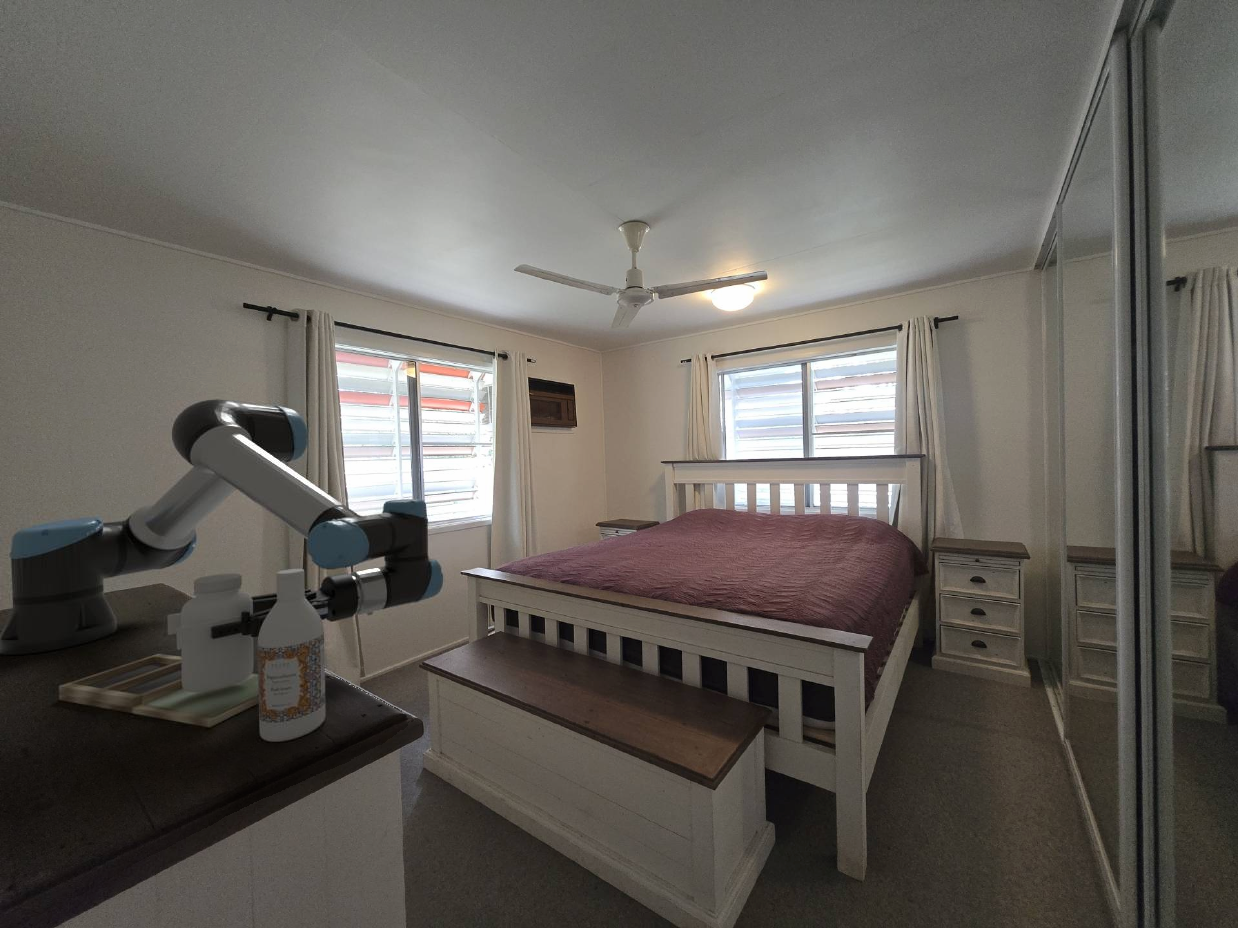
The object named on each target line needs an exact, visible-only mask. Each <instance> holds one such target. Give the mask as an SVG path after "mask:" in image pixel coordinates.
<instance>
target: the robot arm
mask: <svg viewBox="0 0 1238 928" xmlns="http://www.w3.org/2000/svg"><path fill="white" fill-rule="evenodd" d="M308 435H309V434H308V427H307V425H306V423H305V421H304V419H303V417H302V416H301V415H300V414H299V413H298V412H297V411H295V410H294V409H291V408H288V407H285V406H280V405H277V404H266V403H265V404H263V403H253V402H242V401H234V400H233V401H232V400H229V399H228V400H227V399H206V400H201V401H198V402H196V403H193V404H191V405H189V406H187V407H186V408H185V409H184V410H182V411H181V412H180V413H179V414H178V415H177V417H176V418H175V420H174V422H173V425H172V427H171V440H172V443H173V445H174V448H175V450H176V451H177V453H178V454H179V455H180V456H181V457H182V458H183V460H185V461H186V462H187V463H189V465H192V466H193V467H192V468H191V469H189V470H188V472H186V473H185V474H184V475H183V476H182V477H181V478H180V479H179V480H178V481H177V482H175V484H174V485H172V487H171V488H169V490H168V491H166V493H164V494H163V495H162V496H161V497H160V498H159V499H158V500H157V501H156V502H155V503H154V504H148V505H144V506H141V507H140V508H137V509H136V510H135V511H134V512H133V513H132V514H131V515H130V516H128V517H127V518H126V519H125V520H120V521H111V522H103V520H102V518H100V517H78V518H71V519H64V520H57V521H50V522H45V523H40V524H36V525H31V526H27V527H25V528H22V529H20V530H18V531H17V532H15V533H14V534H13V536H12V537H11V538H12V539H11V548H10V553H9V557H10V563H11V565H10V566H11V568H10V569H11V588H12V589H11V591H12V608H11V609H12V610H11V612H10V614H9V616H8V618H7V620H6V622H5V625H4V627H3V629H2V632H1V634H0V655H5V656H6V655H7V656H9V655H10V656H11V655H12V656H16V655H30V654H35V653H36V654H37V653H42V652H48V651H49V652H50V651H56V650H60V649H65V648H70V647H74V646H79V645H82V644H85V643H90V642H93V641H96V640H99V639H100V640H101V639H102V638H105V637H107V636H109V635H111V634H114V633H115V632H117V630H118V622H117V621H118V620H117V617H116V615H115V613H114V611H113V609H112V608H111V606H110V604H109V602H108V601H107V597H106V596H105V593H104V579H109V578H110V579H111V578H114V577H120V576H126V575H130V574H135V573H140V572H148V571H152V570H162V569H166V568H169V567H172V566H176V565H178V564H181V563H182V562H185V560H187V559H188V558H189V557H190V556H191V555H192V554H193V552H194V551H195V545H194V544H196V543H197V538H198V537H197V531H196V527H197V526H198V525H199V524H200V523H201V522H202V521H203V520H204V519H206V518H208V516H209V515H210V514H211V513H212V512H213V511H215V510H216V509H217V508H218V507H219V506H220V505H221V504H223V502H225V500H226V499H228V498H229V497H230V496H231V495H233V493H234V492H235V491H236V490H238V491H239V492H240V493H241V494H242V495H244V496H245V497H248V499H250V500H252V501H253V502H254V503H255V504H256V505H259V506H260V507H261V508H262V509H264V510H265V511H266V512H268V513H269V514H271V515H273V517H275V518H276V519H277V520H279V521H280V522H282V523H283V524H285V525H286V526H288V527H289V528H290V529H292V530H293V531H294V532H296V533H297V534H299V535H300V536H302V537H303V538H304V539H306V551H307V554H308V555H310V557H311V561H312V562H313V564H315V565H316V567H319V568H320V569H324V570H336V569H337V570H338V569H342V568H346V569H347V568H350V567H353V566H356V565H359V564H362V563H366V562H369V561H373V560H375V559H380V558H383V557H384V566H380V567H372V568H368V569H361V570H357V571H356V570H355V571H352V572H351V573H350V574H349V573H341V574H334V575H328V576H326V577H324V578H323V580H322V582H321V584H320V588H319V589H318V590H312V589H311V588H305V598H306V599H307V600H308V602H309V603H310V604H311V605H312V606H313V607H314V608H315V610H316V611H317V612H318V614H319V616H320V618H321V620H326V621H328V622H337V621H340V620H341V621H342V620H345V619H351V618H352V617H354V616H355V615H356V616H360V615H365V614H366V615H367V616H372V615H373V614H374V612H376V611H381V610H386V609H389V608H394V607H400V606H403V605H407V604H408V605H409V604H412V603H419V602H420V601H424V600H427V599H430V598H433V597H435V596H436V595H438V594H439V593H440V592H441V590H442V588H443V586H444V585H443V584H444V573H443V571H442V565H441V564H440V563H439V562H438V560H437V559H435V558H429V519H428V512H427V511H428V510H427V503H426V501H425V500H424V499H419V498H411V499H410V498H409V499H408V498H407V499H392V500H386V501H385V502H384V503H383V505H382V506H383V508H382V512H381V513H375V514H368V515H360V514H358V513H356V512H355V511H354V510H352V509H351V508H350V507H347V506H346V505H344V504H343V503H341V502H340V501H339V500H337V499H336V498H335V497H333V496H332V495H330V494H328V493H327V492H325V491H324V490H323V489H322V488H320V487H318V486H317V485H316V484H314V483H313V482H311V481H310V480H308V479H307V478H305V477H304V476H302V475H301V474H299V472H297V471H295V470H294V469H293V468H291V467H289V466H288V465H287V464H285V463H290V462H293V461H297V460H299V458H301V457H302V456H303V455H304V454H305V452H306V449H307V446H308V441H309V440H308ZM284 462H285V463H284ZM251 598H252V600H253V614H250V612H247V611H245V612H244V611H243V612H241V615H242V621H240V616H239V615H237V616H232V617H227V618H222V619H217V620H212V621H207V622H203V623H198V624H193V625H188V626H183V627H181V612H176V613H171V614H167V617H166V618H167V635H168V636H171V635H176V649H177V651H178V650H181V649H183V648H188V647H192V646H196V645H201V644H205V643H209V642H214V641H218V640H222V639H227V638H231V637H235V636H240V633H242V635H245V636H246V635H250V634H251V637H253V638H258V637H259V632H260V629H261V626H262V624H263V622H264V620H265V619H266V617H267V615H268V614H269V612H270V611H271V609H272V608H273V607H274V605H275V604H276V602H277V592H275V593H274V592H273V593H268V594H261V595H254V596H251Z"/></svg>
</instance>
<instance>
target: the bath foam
mask: <svg viewBox="0 0 1238 928" xmlns="http://www.w3.org/2000/svg"><path fill="white" fill-rule="evenodd" d="M275 577H276V578H275V579H276V581H275V582H276V593H277V602H276V604H275V605H274V607H273V608H272V609H271V611H270V612H269V614H268V615H267V617H266V619H265V620H264V622H263V624H262V626H261V629H260V632H259V636H258V637H257V674H258V688H259V703H258V719H259V724H258V725H259V736H260V738H262V740H264V741H267V742H271V743H273V742H274V743H275V742H276V743H279V742H287V741H290V740H295V739H297V738H300V737H303V736H306V735H307V734H310V733H312V732H313V731H315V730H316V729H318V728H319V727H320V726H321V725H322V724H323V723H324V721H325V718H326V673H325V672H326V671H325V670H326V669H325V668H326V666H325V665H326V662H325V661H326V659H325V658H326V657H325V630H324V624H323V621H322V620H321V618H320V616H319V614H318V612H317V611H316V610H315V608H314V607H313V606H312V605H311V604H310V603H309V602H308V600H307V599H306V598H305V589H306V588H305V587H306V586H305V583H306V582H305V570H304V569H303V568H291V569H284V570H280V571H277V572H276V576H275Z"/></svg>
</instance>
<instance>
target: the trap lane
mask: <svg viewBox="0 0 1238 928" xmlns="http://www.w3.org/2000/svg"><path fill="white" fill-rule="evenodd" d="M58 693H59V694H58V695H59V696H58V697H59V701H64V702H69V703H74V704H75V703H76V704H78V705H79V704H80V705H85V706H90V707H96V708H101V709H107V710H112V711H119V712H124V713H130V714H135V715H140V716H145V717H150V718H151V717H152V718H157V719H163V720H168V721H172V722H173V721H174V722H177V723H179V722H180V723H183V724H189V725H194V726H200V727H205V728H212V727H213V726H215V725H218V724H220V723H221V722H223V721H225V720H228V719H229V718H231V717H234V716H235V715H237V714H239V713H241V712H243V711H246V710H248V709H250V708H251V707H254V706H256V705H259V688H258V673H252V674H251V675H250V676H249V677H248V678H247V679H245V680H243V681H241V682H239V683H236V684H234V685H231V686H228V687H225V688H221V689H217V690H212V691H205V692H188V691H185V690H184V689H183V687H182V661H181V656H178V655H170V654H165V653H164V654H163V653H157V654H156V653H155V654H154V655H150V656H146V657H144V658H141V659H138V660H135V661H131V662H129V663H125V664H122V665H120V666H116V667H114V668H113V667H112V668H111V669H107V670H104V671H102V672H98V673H96V674H92V675H89V676H86V677H83V678H80V679H77V680H74V681H71V682H70V681H69V682H67V683H65V684H60V685H58Z"/></svg>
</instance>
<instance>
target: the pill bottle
mask: <svg viewBox="0 0 1238 928" xmlns="http://www.w3.org/2000/svg"><path fill="white" fill-rule="evenodd" d="M242 578H243V577H242V575H241V574H240V573H221V574H214V575H212V574H211V575H207V576H202V577H198V578H196V579H194V581H193V591H194V592H193V595H194V596H196V597H194V598H191V599H189V600H188V601H186V602H185V604H183V606H182V608H181V610H180V613H181V627H183V626H188V625H193V624H198V623H203V622H207V621H212V620H217V619H222V618H227V617H232V616H237V615H239V616H240V621H242V615H241V612H243V611H244V612H245V611H247V612H250V614H253V600H252V598H251V597H252V596H251V595H250V594H249V593H248V592H245V591H241V589H242V584H243V581H242V580H243V579H242ZM180 650H181V653H180V654H181V656H180V657H181V661H182V687H183V689H184V690H185V691H188V692H205V691H212V690H217V689H221V688H225V687H228V686H231V685H234V684H236V683H239V682H241V681H243V680H245V679H247V678H248V677H249V676H250V675H251V674H253V672H254V637H251V634H250V635H246V636H245V635H242V633H240V636H235V637H231V638H227V639H222V640H218V641H214V642H209V643H205V644H201V645H196V646H192V647H188V648H183V649H180Z"/></svg>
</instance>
